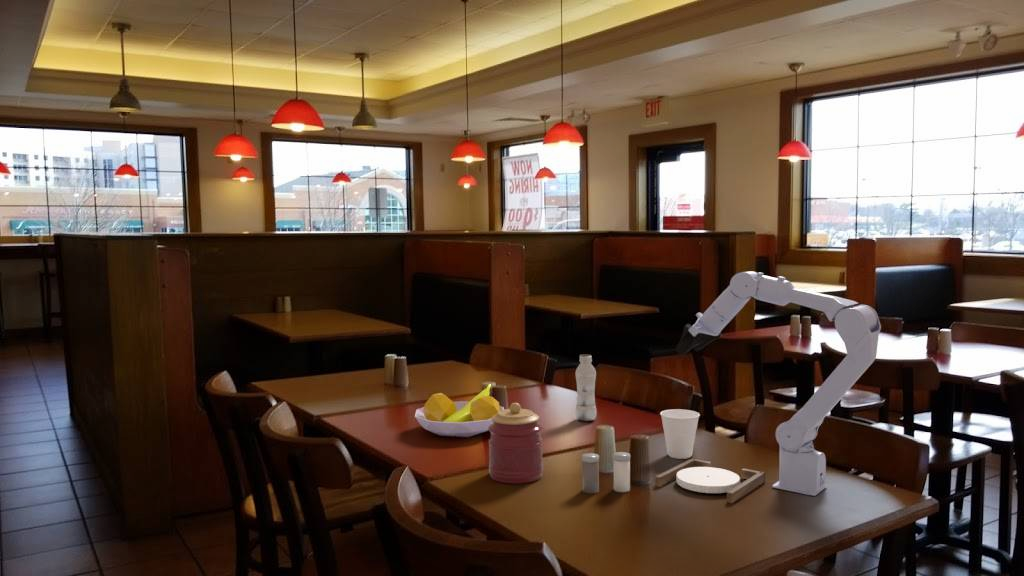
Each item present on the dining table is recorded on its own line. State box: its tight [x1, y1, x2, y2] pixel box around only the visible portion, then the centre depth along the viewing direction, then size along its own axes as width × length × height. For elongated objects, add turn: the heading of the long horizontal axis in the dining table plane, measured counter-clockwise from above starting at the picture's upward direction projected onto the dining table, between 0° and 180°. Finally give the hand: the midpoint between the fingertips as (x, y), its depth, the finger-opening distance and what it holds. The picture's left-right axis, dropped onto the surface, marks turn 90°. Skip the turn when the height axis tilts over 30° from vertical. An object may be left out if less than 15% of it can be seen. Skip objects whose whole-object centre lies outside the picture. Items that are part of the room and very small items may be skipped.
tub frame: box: [654, 457, 766, 504], centre depth 178 cm, size 18×18×2 cm
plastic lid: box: [675, 466, 741, 494], centre depth 177 cm, size 14×14×2 cm
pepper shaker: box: [581, 452, 600, 495], centre depth 175 cm, size 4×4×8 cm
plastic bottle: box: [575, 354, 598, 422], centre depth 238 cm, size 6×7×20 cm
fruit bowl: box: [414, 383, 505, 438], centre depth 228 cm, size 28×27×11 cm
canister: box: [488, 402, 544, 485], centre depth 186 cm, size 13×13×18 cm
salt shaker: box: [612, 451, 631, 493], centre depth 175 cm, size 4×4×8 cm
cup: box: [659, 408, 701, 460], centre depth 200 cm, size 10×10×11 cm
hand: (686, 350), depth 191 cm, fingers open, 7 cm apart
